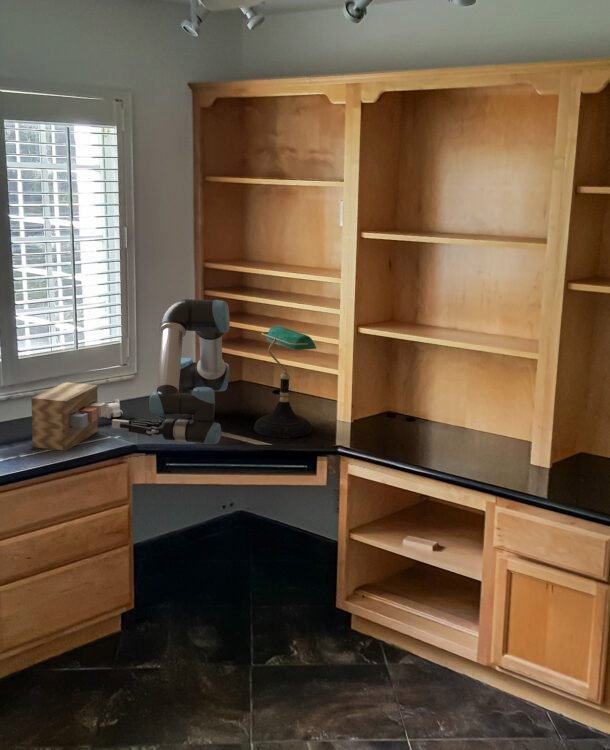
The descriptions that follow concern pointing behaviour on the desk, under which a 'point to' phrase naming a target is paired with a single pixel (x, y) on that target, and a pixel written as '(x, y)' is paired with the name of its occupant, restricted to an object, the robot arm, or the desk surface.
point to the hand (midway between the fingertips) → (112, 423)
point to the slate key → (78, 420)
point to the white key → (99, 408)
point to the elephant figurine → (112, 409)
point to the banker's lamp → (285, 390)
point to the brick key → (89, 413)
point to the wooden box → (61, 416)
